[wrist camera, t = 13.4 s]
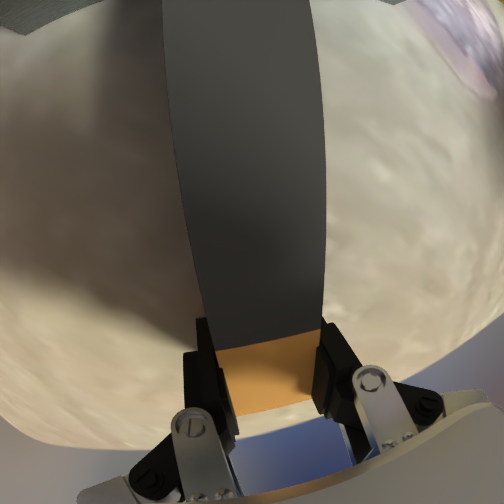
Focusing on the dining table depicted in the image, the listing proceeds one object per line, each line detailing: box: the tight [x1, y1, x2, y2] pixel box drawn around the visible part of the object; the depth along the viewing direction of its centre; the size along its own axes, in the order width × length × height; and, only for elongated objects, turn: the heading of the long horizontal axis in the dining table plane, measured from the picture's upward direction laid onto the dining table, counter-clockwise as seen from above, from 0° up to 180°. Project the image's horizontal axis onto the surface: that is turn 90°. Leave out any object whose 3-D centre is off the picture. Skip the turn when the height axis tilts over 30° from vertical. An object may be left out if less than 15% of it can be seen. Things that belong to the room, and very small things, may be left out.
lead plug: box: [162, 0, 326, 416], centre depth 7 cm, size 16×3×3 cm, turn 5°
